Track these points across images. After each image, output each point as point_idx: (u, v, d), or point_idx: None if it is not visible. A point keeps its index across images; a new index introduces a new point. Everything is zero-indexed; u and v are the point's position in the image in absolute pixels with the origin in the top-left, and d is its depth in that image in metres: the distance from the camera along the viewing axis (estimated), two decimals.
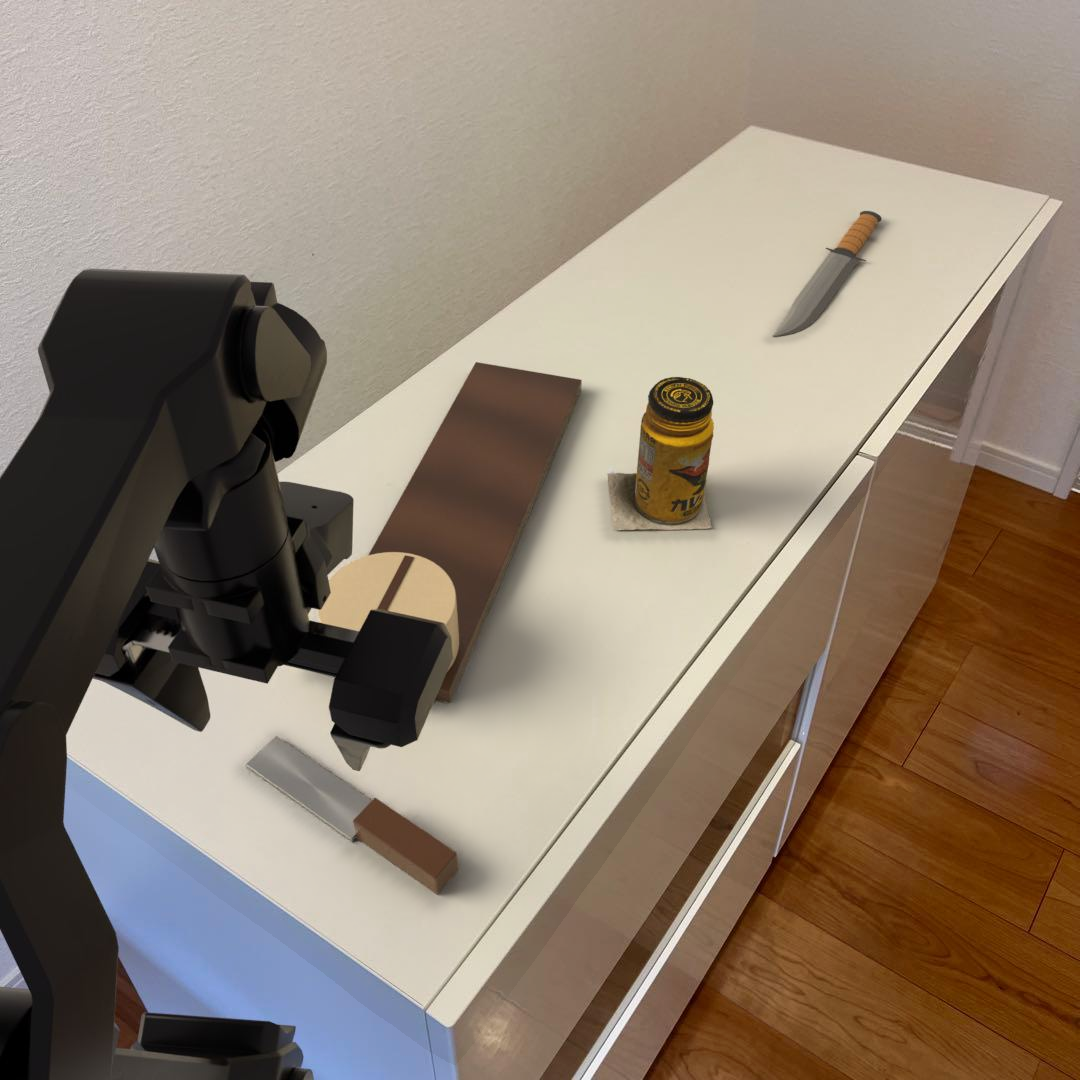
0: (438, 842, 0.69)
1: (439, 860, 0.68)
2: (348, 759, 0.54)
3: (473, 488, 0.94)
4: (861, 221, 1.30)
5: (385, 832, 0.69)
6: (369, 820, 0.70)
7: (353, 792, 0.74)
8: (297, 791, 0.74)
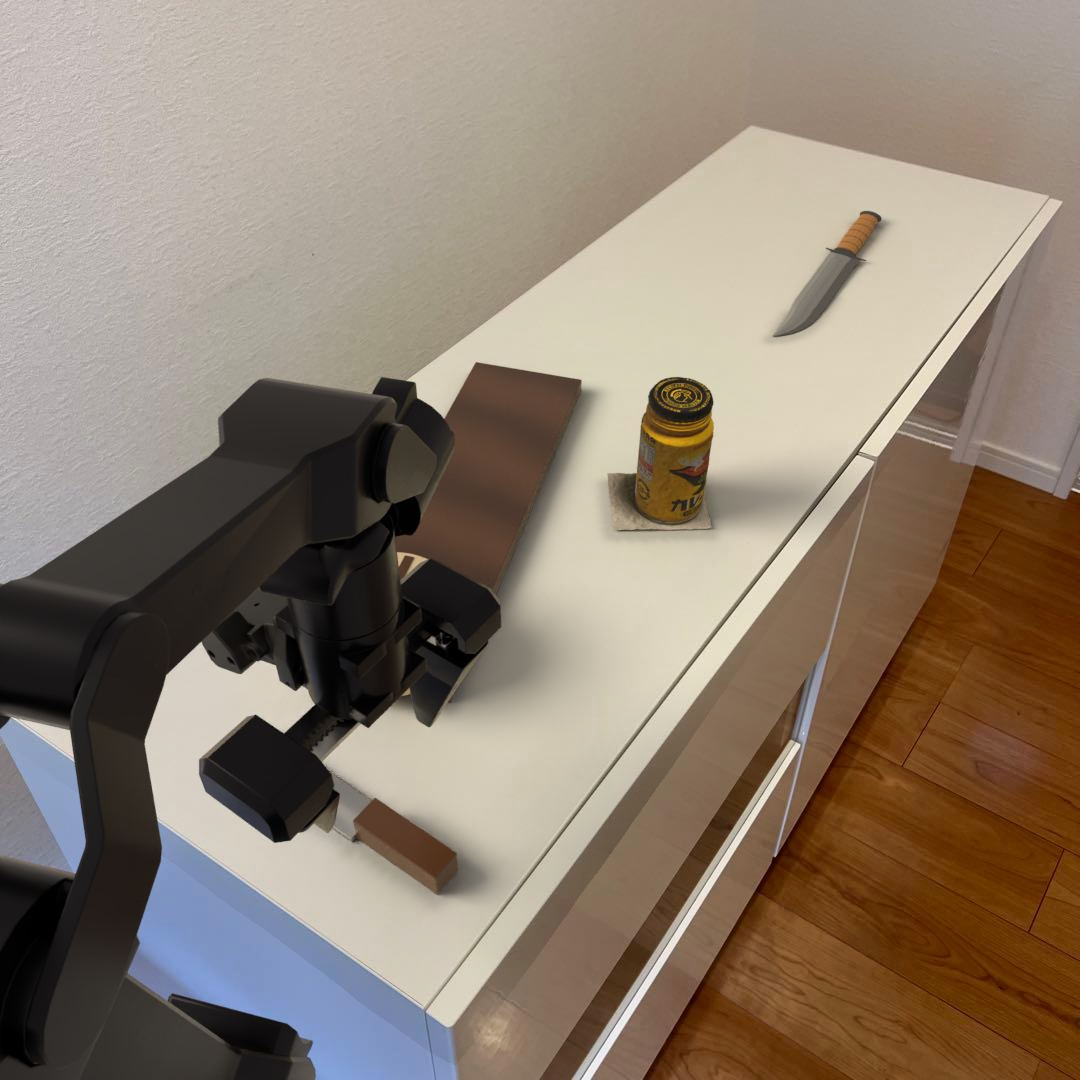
0: (438, 842, 0.69)
1: (439, 860, 0.68)
2: (442, 707, 0.66)
3: (473, 488, 0.94)
4: (861, 221, 1.30)
5: (385, 832, 0.69)
6: (369, 820, 0.70)
7: (353, 792, 0.74)
8: None
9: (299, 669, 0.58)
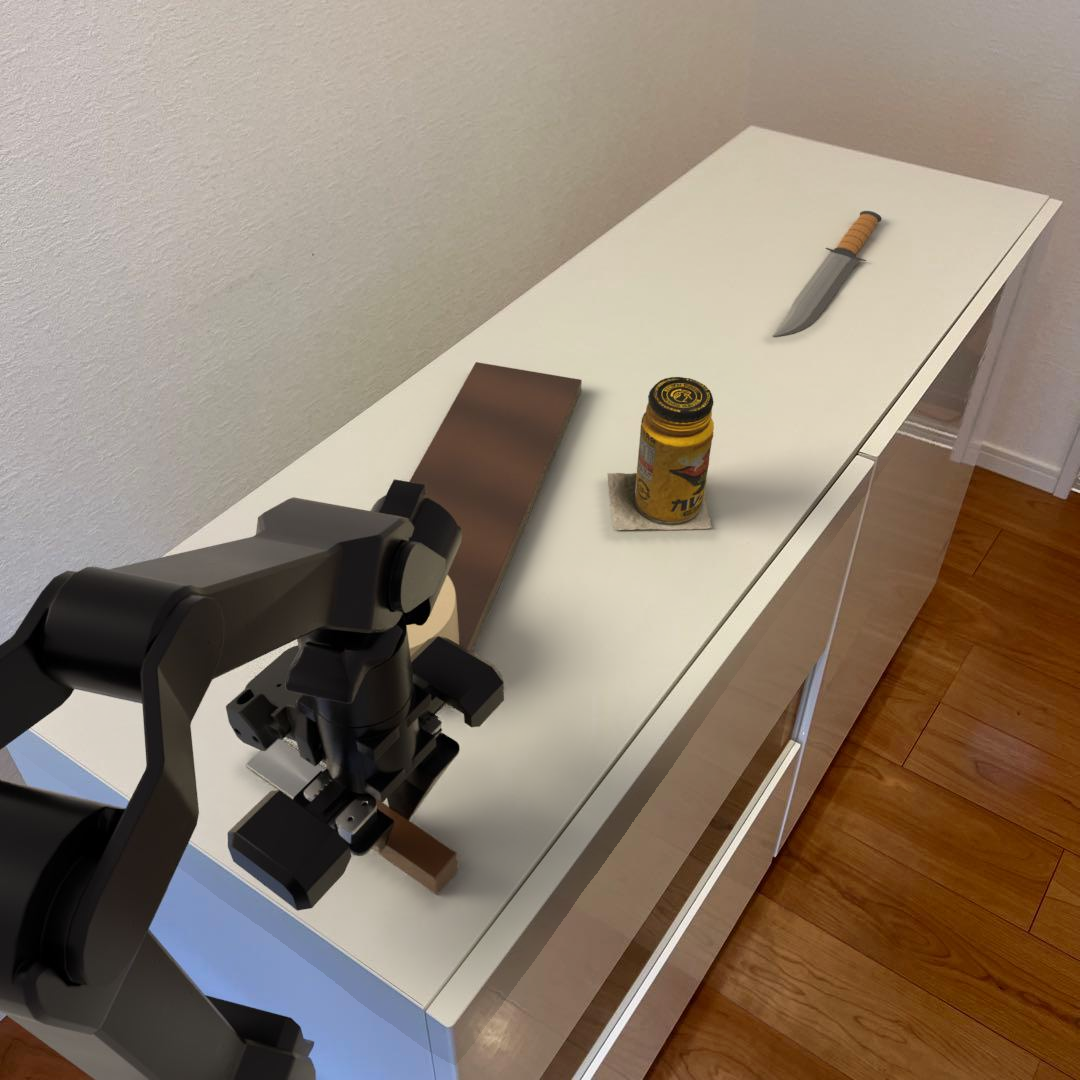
0: (438, 842, 0.69)
1: (439, 860, 0.68)
2: (416, 808, 0.69)
3: (473, 488, 0.94)
4: (861, 221, 1.30)
5: None
6: None
7: None
8: (297, 791, 0.74)
9: (318, 747, 0.63)
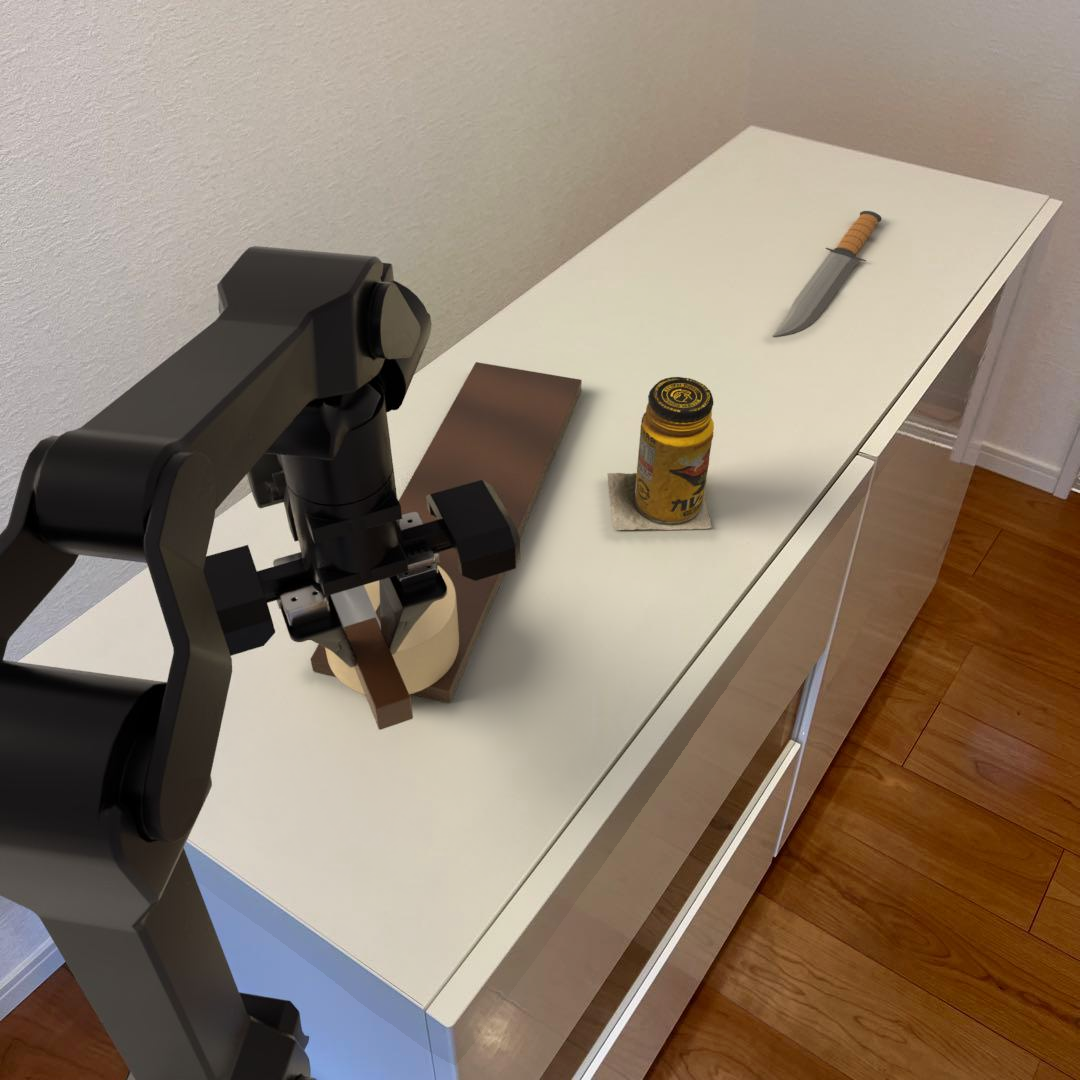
0: (400, 680, 0.65)
1: (390, 696, 0.65)
2: (396, 639, 0.66)
3: None
4: (861, 221, 1.30)
5: (362, 650, 0.67)
6: (356, 633, 0.68)
7: (370, 609, 0.72)
8: None
9: None
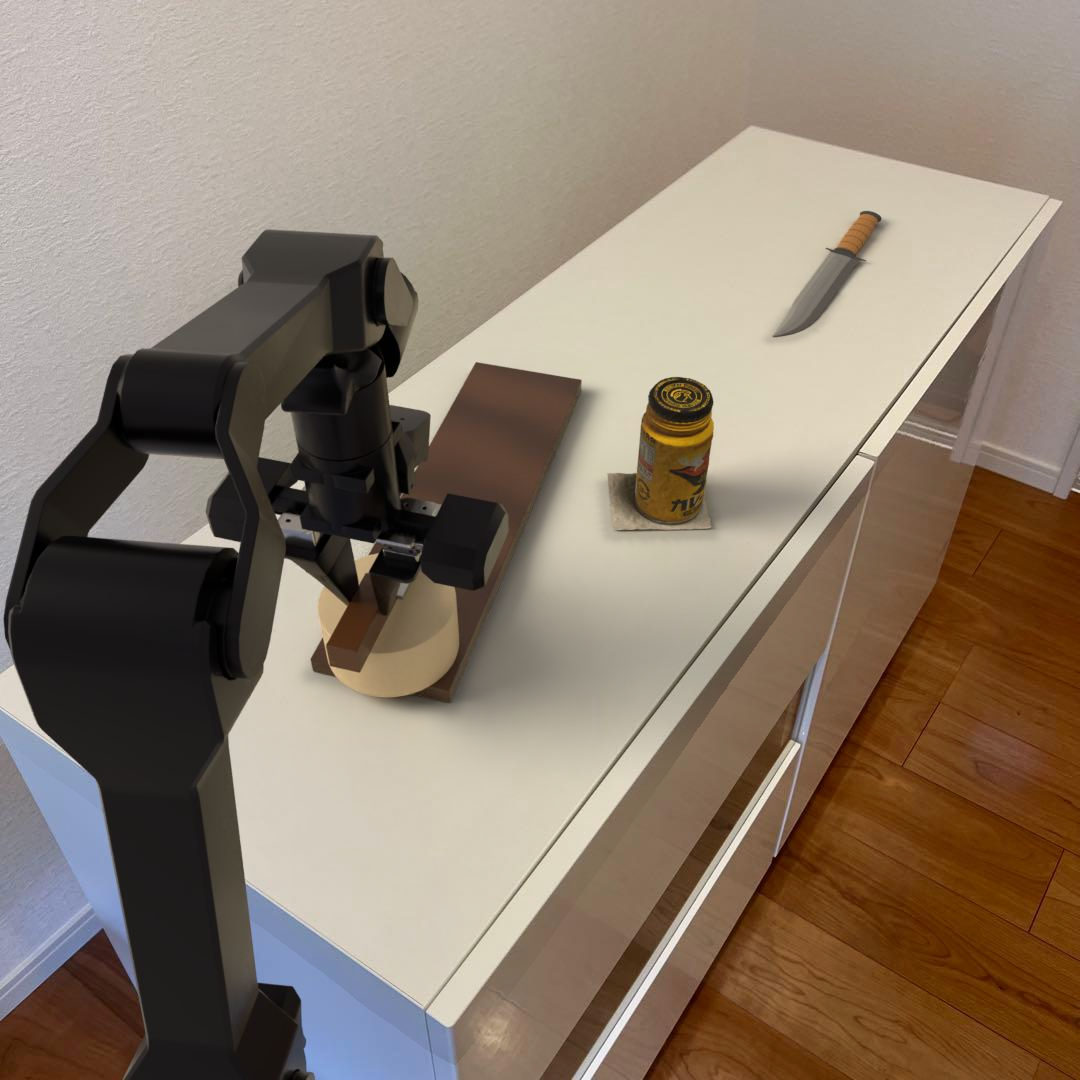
0: (362, 635, 0.71)
1: (344, 642, 0.71)
2: (380, 602, 0.72)
3: (473, 488, 0.94)
4: (861, 221, 1.30)
5: (360, 597, 0.74)
6: (369, 583, 0.75)
7: None
8: None
9: None
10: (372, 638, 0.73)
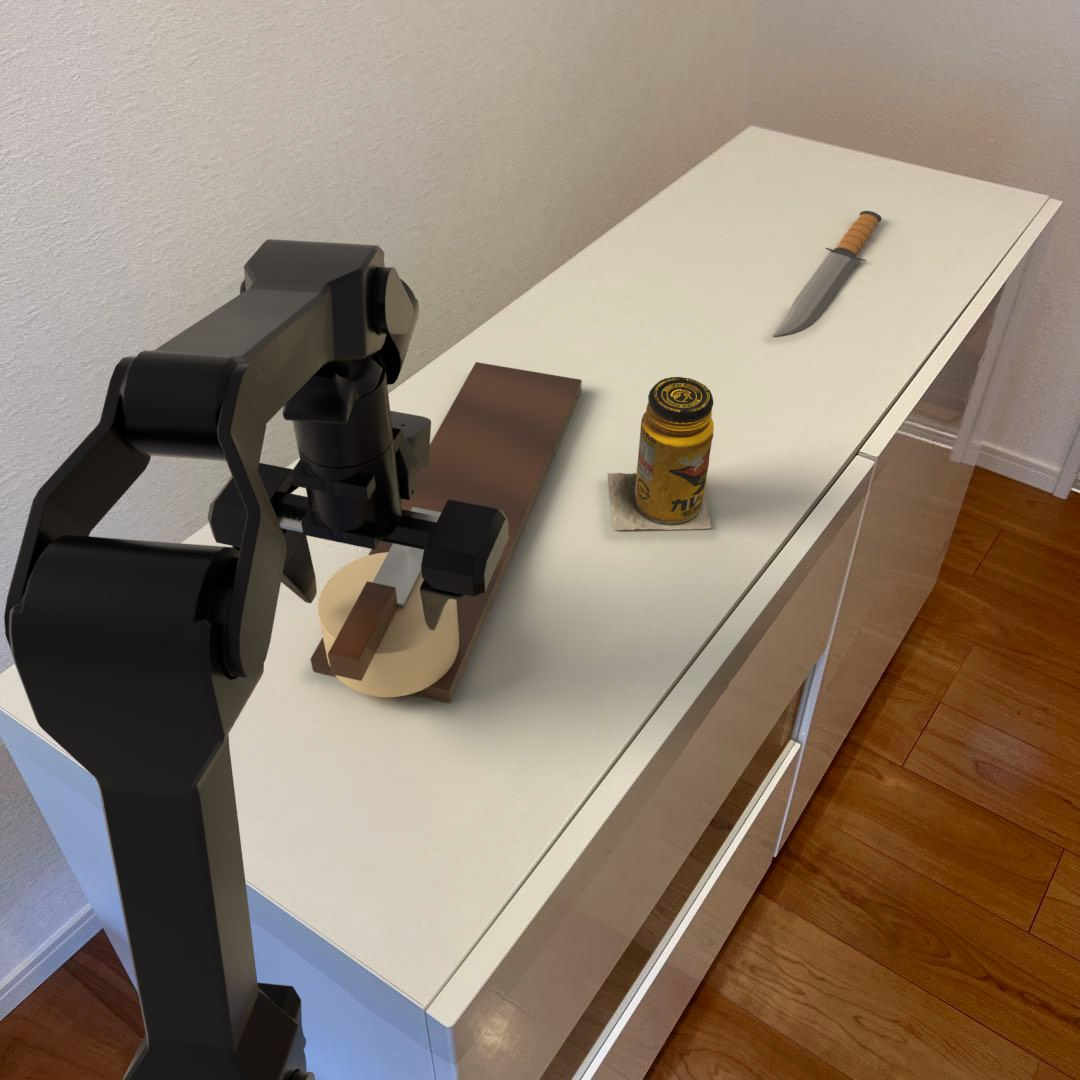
0: (363, 644, 0.72)
1: (346, 651, 0.72)
2: (428, 617, 0.72)
3: (473, 488, 0.94)
4: (861, 221, 1.30)
5: (362, 605, 0.75)
6: (370, 591, 0.76)
7: (411, 581, 0.79)
8: (398, 546, 0.81)
9: None
10: (373, 646, 0.74)
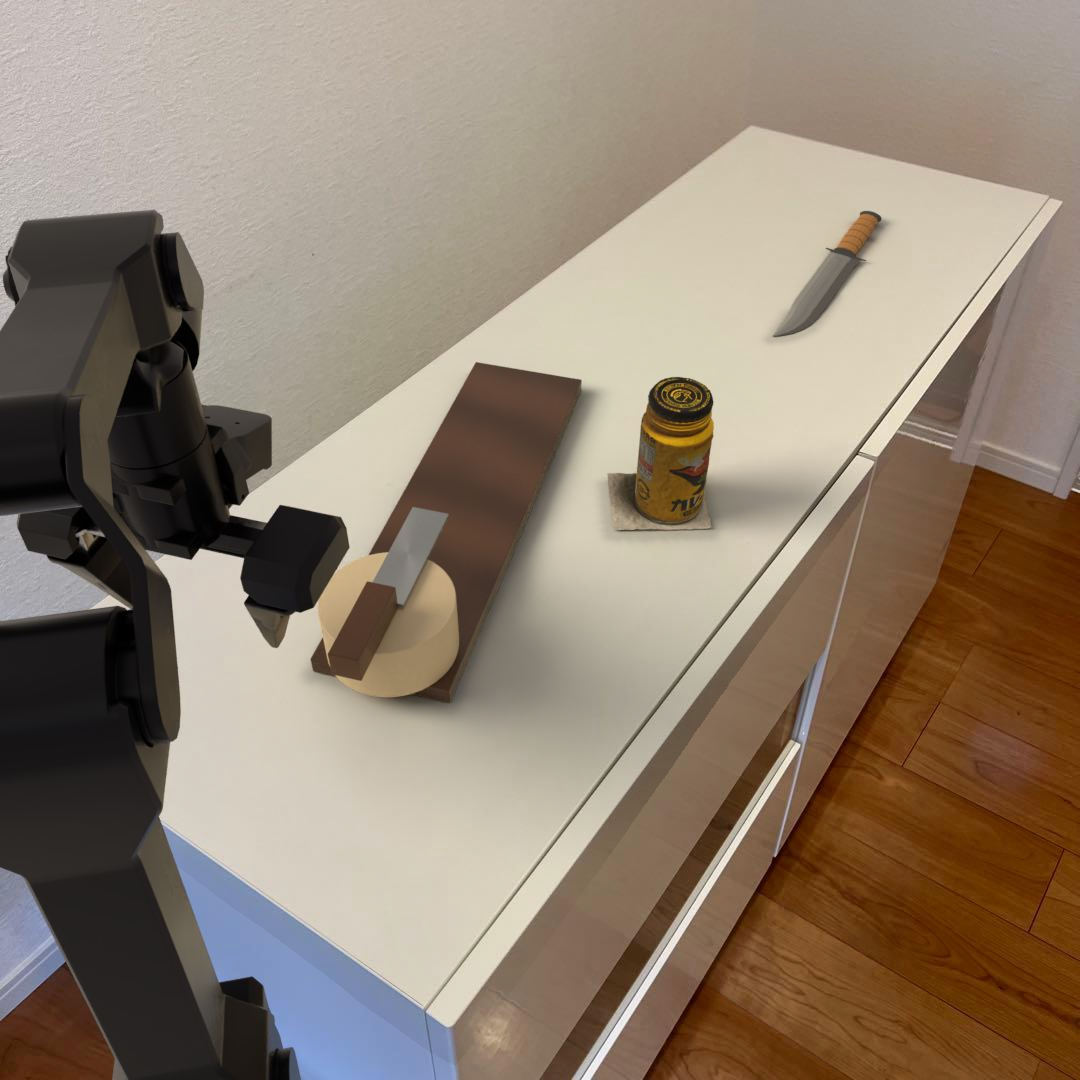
0: (363, 644, 0.72)
1: (346, 651, 0.72)
2: (264, 634, 0.65)
3: (473, 488, 0.94)
4: (861, 221, 1.30)
5: (362, 605, 0.75)
6: (370, 591, 0.76)
7: (411, 581, 0.79)
8: (398, 546, 0.81)
9: None
10: (373, 646, 0.74)
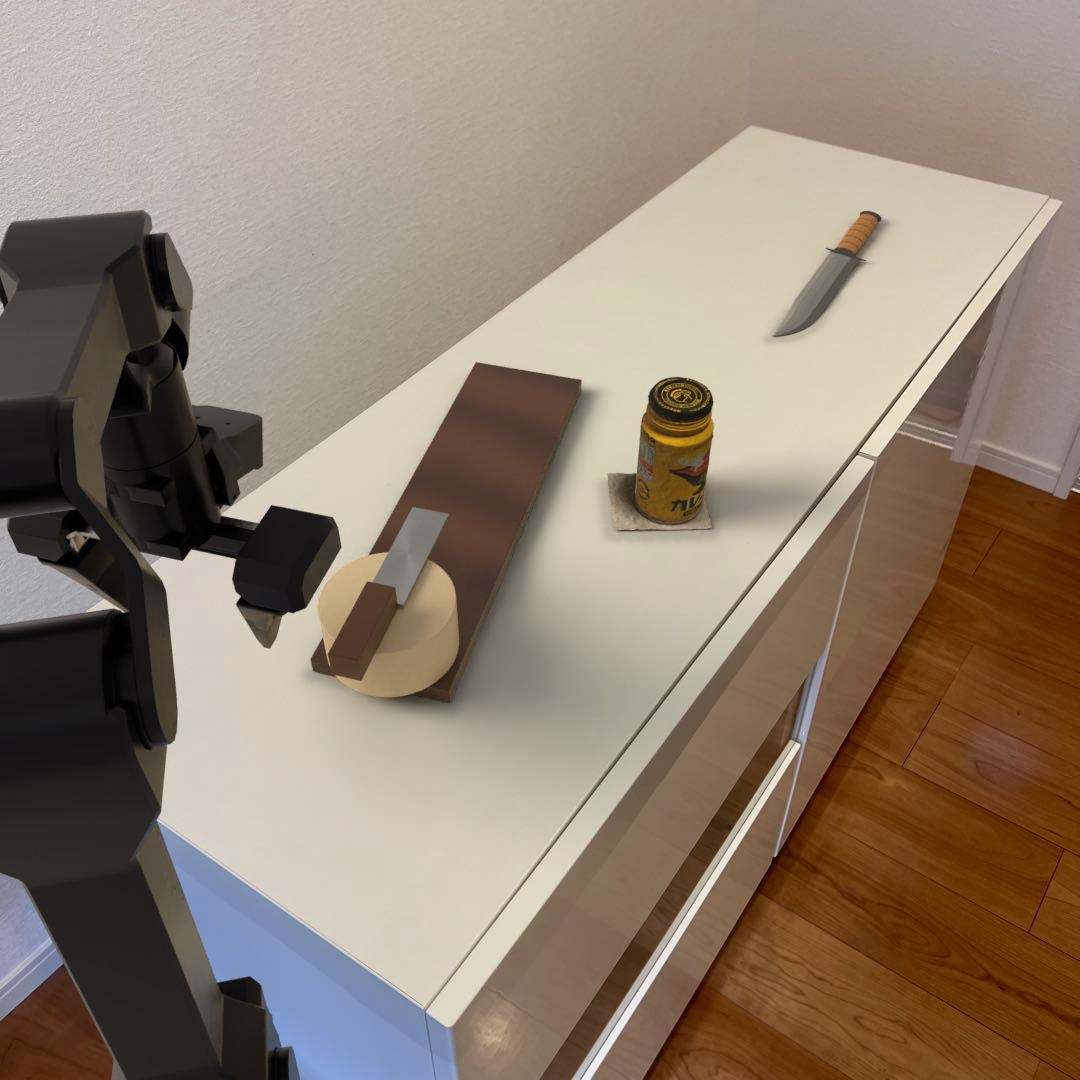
0: (363, 644, 0.72)
1: (346, 651, 0.72)
2: (257, 634, 0.65)
3: (473, 488, 0.94)
4: (861, 221, 1.30)
5: (362, 605, 0.75)
6: (370, 591, 0.76)
7: (411, 581, 0.79)
8: (398, 546, 0.81)
9: None
10: (373, 646, 0.74)
